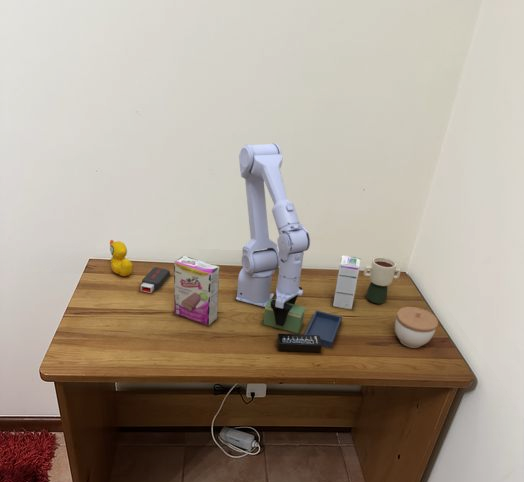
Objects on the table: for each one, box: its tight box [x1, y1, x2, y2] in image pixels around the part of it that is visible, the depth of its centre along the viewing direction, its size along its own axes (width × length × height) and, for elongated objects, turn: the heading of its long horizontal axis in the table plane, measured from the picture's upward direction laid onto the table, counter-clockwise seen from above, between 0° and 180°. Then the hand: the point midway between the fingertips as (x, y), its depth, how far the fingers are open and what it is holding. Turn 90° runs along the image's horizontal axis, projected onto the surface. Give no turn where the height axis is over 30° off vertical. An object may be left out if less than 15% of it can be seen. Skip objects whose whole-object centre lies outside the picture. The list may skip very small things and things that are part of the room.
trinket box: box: [394, 306, 439, 349], centre depth 131 cm, size 11×11×9 cm
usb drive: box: [139, 266, 171, 294], centre depth 147 cm, size 5×12×3 cm, turn 167°
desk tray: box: [303, 309, 343, 349], centre depth 133 cm, size 8×13×2 cm, turn 161°
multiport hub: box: [276, 333, 323, 353], centre depth 126 cm, size 4×11×2 cm, turn 92°
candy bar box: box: [173, 255, 220, 327], centre depth 130 cm, size 11×5×16 cm, turn 65°
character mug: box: [362, 256, 402, 304], centre depth 147 cm, size 11×7×13 cm, turn 90°
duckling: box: [109, 239, 134, 277], centre depth 149 cm, size 11×5×10 cm, turn 39°
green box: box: [263, 298, 306, 334], centre depth 133 cm, size 10×4×6 cm, turn 71°
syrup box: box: [332, 255, 361, 310], centre depth 143 cm, size 6×6×14 cm
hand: (284, 317), depth 133 cm, fingers open, 7 cm apart
